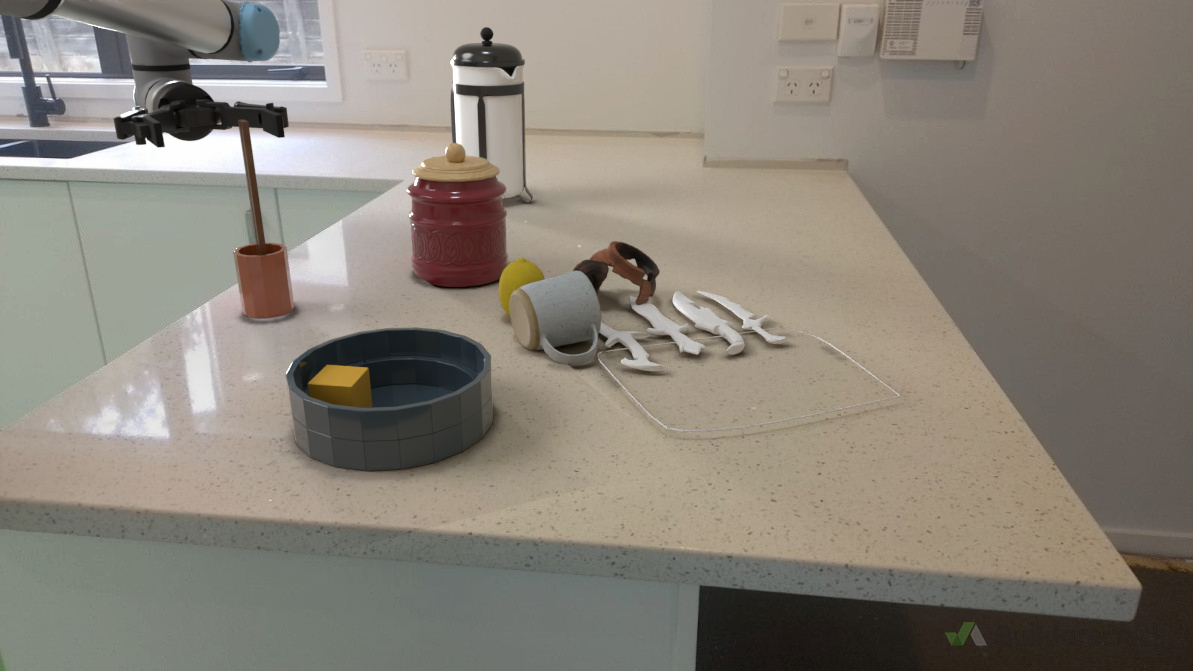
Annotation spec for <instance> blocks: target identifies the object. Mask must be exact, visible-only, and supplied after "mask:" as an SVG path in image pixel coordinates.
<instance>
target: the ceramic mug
mask: <svg viewBox="0 0 1193 671" xmlns="http://www.w3.org/2000/svg"><path fill="white" fill-rule="evenodd" d="M509 311H510V316H509V317H510V323H511V326H512V329H513V332H514V334H515V338H516V339H517V340H518V342H519V343H520V345H521V346H522V347H523V348H524V349H527V350H530V351H544V353H545V354H546V355H547V356H548V357H549V358H550V359H551V360H552V361H554V362H556V363H559V364H565V365H568V366H579V365H583V364H587V363H588V362H590V361H591V360H593V359H594V358H595V355H596V354H597V351H598V347H599V346H598V345H599V334H600V332H599V331H600V326H601V322H602V312H601V305H600V301H599V298H598V294H597V295H596V292H595V289H594V287H593V285H592V284H591V282H590V280H589V279H588V277H587V276H586V275H585V274H584V273H583V272H581V271H573V270H571V271H569V272H566V273H562V274H559V275H555V276H552V277H549V278H545V280H541V281H537V282H533V283H530V284H527V285H524V286H522V287H520V288H518V289H516V290H515V291H514V292H513V293H512V295H511V298H510V303H509ZM590 340H592V345H591V346H590V348H589V349H588V351H585V352H582V353H576V354H570V353H564V352H561V351H559V350H557V349H556V348H557V347H561V346H568V345H572V344H577V343H581V342H582V343H583V342H586V341H590Z"/></svg>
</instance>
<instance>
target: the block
mask: <svg viewBox="0 0 1193 671" xmlns="http://www.w3.org/2000/svg"><path fill="white" fill-rule="evenodd" d="M308 390H309V397H312V398H315V399H318V400H321V401H324V402H327V403H330V404H334V405H342V406H351V407H359V408H372V397H371V386H370V376H369V368H367V367H352V366H338V365H326V366H325V367H324V368H323V369H322V370H321V371H320V372H319V373H318V374H317V375H316V376H315V377H314V378H313V379H312V380H311V381H310V382H309V383H308Z"/></svg>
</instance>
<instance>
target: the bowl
mask: <svg viewBox="0 0 1193 671" xmlns="http://www.w3.org/2000/svg"><path fill="white" fill-rule="evenodd" d="M326 365H338V366H352V367H367V368H369V376H370V386H371V397H372V408H359V407H351V406H342V405H334V404H330V403H327V402H324V401H321V400H318V399H315V398H312V397H309V390H308V383H309V382H310V381H311V380H312V379H313V378H314V377H315V376H316V375H317V374H318V373H319V372H320V371H321V370H322V369H323V368H324V367H325V366H326ZM492 370H493V369H492V355H491V354H490V353H489V351H488V350H487V349H486V347H485V346H484V345H483V343H481V342H479V341H476V340H475V339H473V338H470V337H469V336H467V335H464V334H461V333H456V332H452V331H448V330H446V329H439V328H438V329H437V328H429V327H427V328H426V327H415V326H414V327H386V328H385V327H383V328H378V329H370V330H363V331H358V332H354V333H349V334H346V335H342V336H339V337H335V338H331V339H329V340H326V341H324V342H322V343H319V344H317V345H315V346H313V347H310V348H308V349H307V350H306V351H304V352H303V353H301V354H300V355H299V356H298V357H296V358H295V359H293V360H292V362H291V364H290V365H289V367H288V369H287V371H286V372H285V381H286V389H287V396H288V402H289V411H290V418H291V425H292V426H291V427H292V431H293V435H294V440H295V444H296V446H297V447H298V448H299V449H301V450H302V452H304V453H305V454H306V455H307V456H308V457H310V458H311V459H313V460H316V461H319V462H321V463H324V464H327V465H329V466H332V467H335V468H341V469H348V470H357V471H362V472H363V471H364V472H371V471H372V472H373V471H396V470H407V469H410V468H416V467H420V466H426V465H430V464H435V463H438V462H439V461H442V460H444V459H447V458H450V457H452V456H455V455H458V454H460V453H462V452H464V451H465V450H467V449H469V448H470V447H472V446H473V445H474V444H476V443H477V442H479V441H480V440H481V439H483V438H484V436H485V435H486V433H487V432H488V430H489V429H490V427H491V426H492V424H494V423H493V422H494V401H493V400H494V398H493V373H492V372H493V371H492Z"/></svg>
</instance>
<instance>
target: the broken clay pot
mask: <svg viewBox="0 0 1193 671" xmlns="http://www.w3.org/2000/svg"><path fill="white" fill-rule="evenodd" d="M631 260H634V261H635V264H636V265H635V264H633V263H632V262H630V261H631ZM609 267H611V268H612V270H611V272H612V273H613V274H616V275H618V276H619V277H621V278H622V279H625V280H627V281H629V282H630V283H632V284H633V285H635V286H638V287H639V293H638V294H637V297H636V298H637V299H636V304H637V305H641V304H644V303H646V302H648V303H649V300H650V298H652V297H653V296H654V294H655V292H656V291H657V290H656V289H657V280H656V279H657V277H658V276H659V275H660V272H661V271H660V269H659V267H658V265H657V263H656V262H655V261H654V260H653V259H652V257H650V256H649V255H648V254H646V253H645V252H644V251H642V250H641V249H639V248H637V247H636V246H634V245H632V244H629V243H627V242H623V241H618V240H612V241H611V242H610V243H609V245H608V246H607V247H606V248H602V249H600V250H598V251H596V252H595V253H594V254H592V255H591V257H590V258H589V259H584V260H582V261H581V262H579V263H578V264H576V266H575V267H574V268H573V269H572V271H581V272H583V273H584V274H585V275H586V276H587V277H588V279H589V280H590V282H591V284H592V285H593V287H594V289H595V292H596V295H597V296H598V293H599V291H600V288H601V287H602V285H603V283H604V282H605V280H606V279H607V277H608V275H609V271H610V268H609ZM645 276H646V279H645V278H644V277H645Z"/></svg>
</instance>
